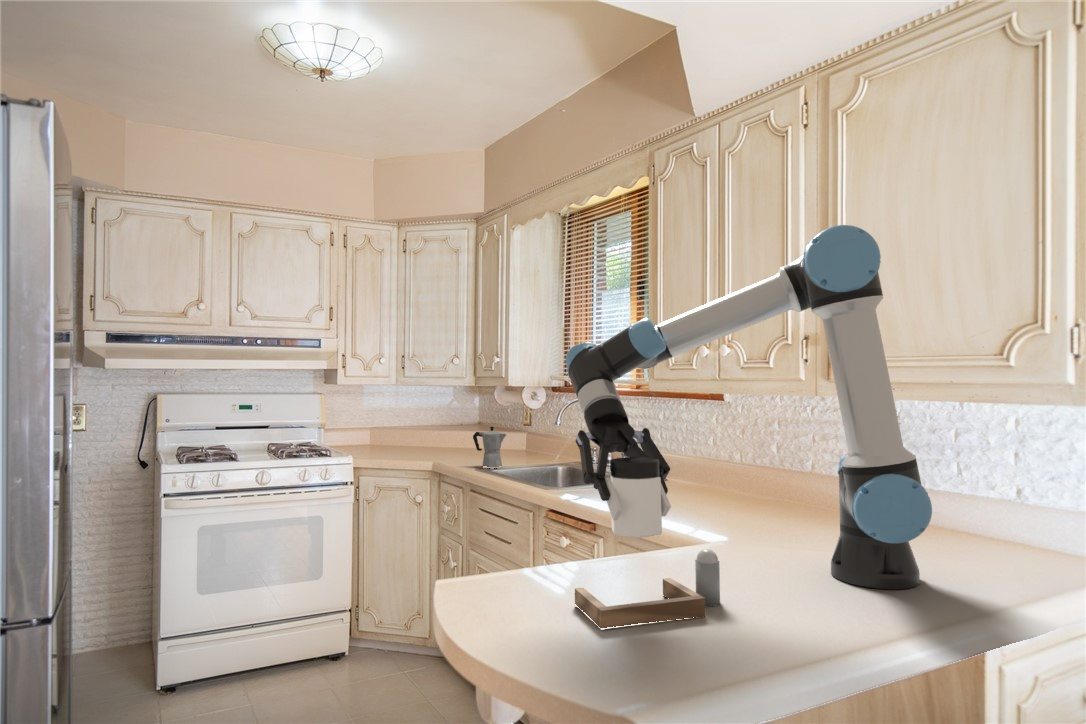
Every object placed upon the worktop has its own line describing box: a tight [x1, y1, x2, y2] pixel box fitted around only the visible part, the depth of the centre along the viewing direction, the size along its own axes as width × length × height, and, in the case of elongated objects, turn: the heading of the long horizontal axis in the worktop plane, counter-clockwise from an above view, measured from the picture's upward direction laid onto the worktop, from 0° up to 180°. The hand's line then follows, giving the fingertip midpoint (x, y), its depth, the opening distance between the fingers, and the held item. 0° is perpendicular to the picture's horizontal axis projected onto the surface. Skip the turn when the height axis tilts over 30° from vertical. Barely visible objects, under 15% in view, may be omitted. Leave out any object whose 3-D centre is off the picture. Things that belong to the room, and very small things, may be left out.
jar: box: [609, 456, 663, 539], centre depth 112 cm, size 9×8×12 cm
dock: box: [574, 577, 706, 628], centre depth 110 cm, size 12×18×3 cm, turn 108°
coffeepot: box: [472, 426, 507, 467], centre depth 292 cm, size 15×9×18 cm, turn 75°
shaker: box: [694, 548, 721, 607], centre depth 114 cm, size 4×4×9 cm
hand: (642, 513), depth 108 cm, fingers closed on jar, 8 cm apart
